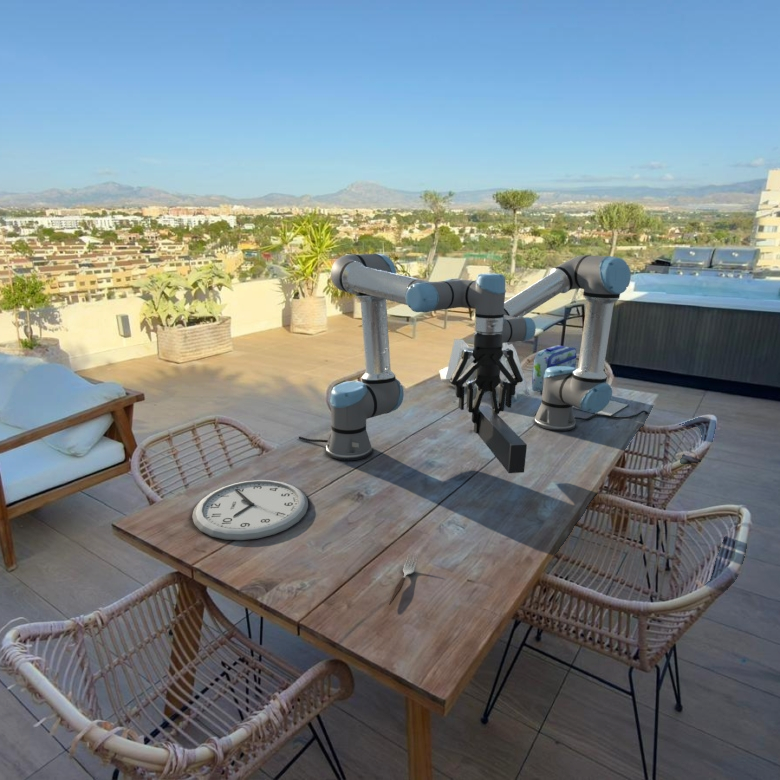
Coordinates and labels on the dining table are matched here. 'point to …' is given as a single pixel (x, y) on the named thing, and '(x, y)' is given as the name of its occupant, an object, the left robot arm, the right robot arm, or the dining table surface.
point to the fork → (407, 571)
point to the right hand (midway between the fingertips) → (483, 431)
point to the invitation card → (611, 408)
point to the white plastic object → (457, 353)
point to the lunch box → (551, 363)
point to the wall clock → (250, 510)
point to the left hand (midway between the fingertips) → (484, 407)
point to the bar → (502, 440)
